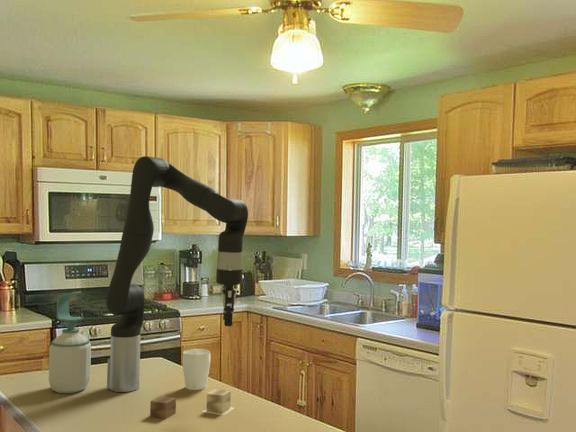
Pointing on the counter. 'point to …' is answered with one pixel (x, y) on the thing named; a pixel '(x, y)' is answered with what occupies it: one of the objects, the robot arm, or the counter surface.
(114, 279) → the robot arm
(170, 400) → the walnut block
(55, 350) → the soap bottle
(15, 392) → the counter surface
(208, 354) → the cup
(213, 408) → the maple block
